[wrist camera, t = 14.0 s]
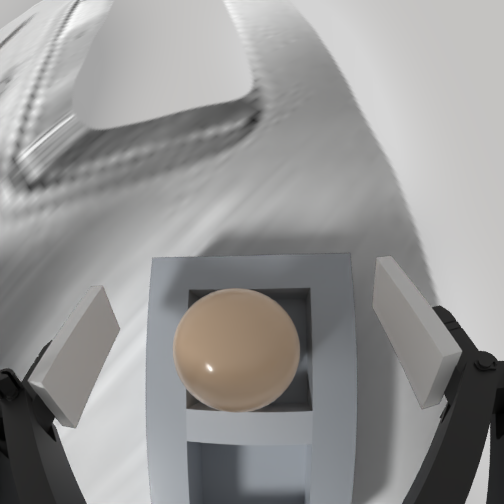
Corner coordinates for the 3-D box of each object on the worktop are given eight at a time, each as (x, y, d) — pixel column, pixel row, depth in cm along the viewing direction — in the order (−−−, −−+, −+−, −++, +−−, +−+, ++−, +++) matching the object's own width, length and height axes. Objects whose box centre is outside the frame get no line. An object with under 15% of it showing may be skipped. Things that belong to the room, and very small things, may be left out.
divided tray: (176, 521, 17) (156, 547, 13) (174, 276, 23) (152, 257, 19) (334, 526, 16) (344, 555, 12) (337, 273, 22) (350, 252, 18)
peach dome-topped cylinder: (215, 389, 19) (152, 417, 9) (215, 316, 21) (156, 274, 11) (291, 389, 19) (305, 424, 9) (290, 315, 21) (303, 271, 10)
